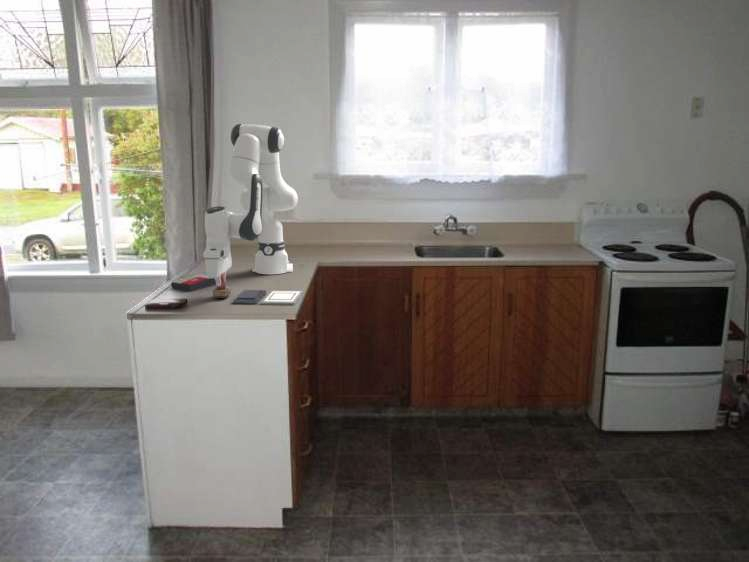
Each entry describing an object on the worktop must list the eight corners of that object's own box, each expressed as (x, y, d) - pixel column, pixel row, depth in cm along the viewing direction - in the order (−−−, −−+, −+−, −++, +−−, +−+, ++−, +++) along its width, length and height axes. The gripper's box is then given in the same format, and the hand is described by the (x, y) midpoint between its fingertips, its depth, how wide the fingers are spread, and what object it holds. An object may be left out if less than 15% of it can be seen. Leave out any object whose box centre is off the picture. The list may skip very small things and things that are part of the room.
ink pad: (243, 294, 246) (243, 289, 245) (266, 294, 245) (265, 289, 245) (233, 303, 232) (233, 298, 232) (257, 303, 232) (256, 298, 231)
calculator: (170, 281, 255) (197, 272, 267) (171, 290, 256) (198, 281, 268) (189, 284, 249) (215, 274, 262) (190, 294, 251) (216, 284, 263)
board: (271, 292, 248) (271, 290, 248) (303, 292, 247) (303, 290, 247) (260, 304, 231) (260, 301, 230) (294, 304, 230) (294, 302, 230)
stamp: (218, 293, 244) (216, 271, 242) (230, 293, 244) (228, 271, 241) (213, 297, 238) (211, 274, 236) (225, 297, 238) (224, 274, 236)
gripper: (219, 244, 247) (221, 277, 250) (201, 254, 227) (204, 290, 230) (234, 244, 246) (236, 277, 250) (218, 254, 226) (220, 291, 230)
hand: (221, 284), depth 240 cm, fingers closed on stamp, 3 cm apart
